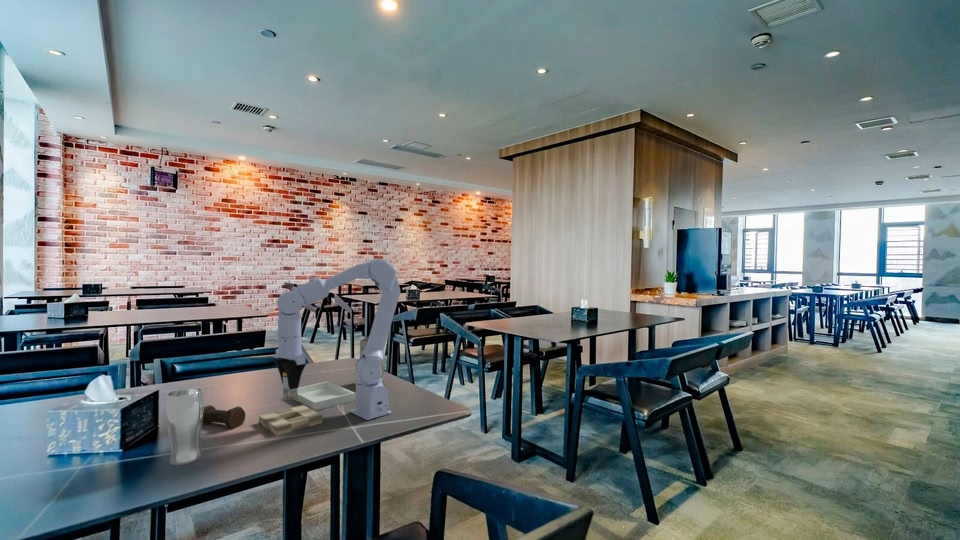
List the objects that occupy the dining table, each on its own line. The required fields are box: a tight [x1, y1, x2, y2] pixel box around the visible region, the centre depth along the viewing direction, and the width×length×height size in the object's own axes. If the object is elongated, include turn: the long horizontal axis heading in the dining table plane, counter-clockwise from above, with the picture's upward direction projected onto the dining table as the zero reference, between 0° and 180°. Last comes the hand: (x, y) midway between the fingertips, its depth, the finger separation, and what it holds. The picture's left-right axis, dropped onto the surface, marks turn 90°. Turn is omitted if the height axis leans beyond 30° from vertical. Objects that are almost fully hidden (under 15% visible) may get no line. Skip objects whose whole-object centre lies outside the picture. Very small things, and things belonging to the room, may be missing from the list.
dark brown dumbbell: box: [202, 405, 246, 430], centre depth 118 cm, size 6×5×15 cm
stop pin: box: [282, 371, 299, 401], centre depth 118 cm, size 4×4×7 cm
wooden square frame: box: [258, 404, 324, 436], centre depth 118 cm, size 12×12×2 cm
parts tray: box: [292, 381, 356, 412], centre depth 138 cm, size 18×13×2 cm
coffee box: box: [359, 336, 385, 383], centre depth 154 cm, size 9×6×16 cm
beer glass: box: [165, 387, 205, 467], centre depth 97 cm, size 7×7×15 cm
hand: (290, 386), depth 118 cm, fingers closed on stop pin, 4 cm apart
